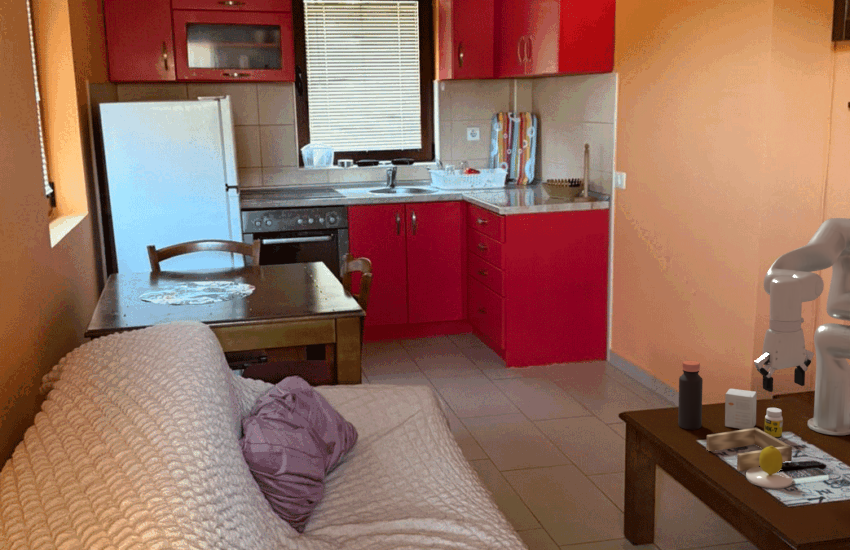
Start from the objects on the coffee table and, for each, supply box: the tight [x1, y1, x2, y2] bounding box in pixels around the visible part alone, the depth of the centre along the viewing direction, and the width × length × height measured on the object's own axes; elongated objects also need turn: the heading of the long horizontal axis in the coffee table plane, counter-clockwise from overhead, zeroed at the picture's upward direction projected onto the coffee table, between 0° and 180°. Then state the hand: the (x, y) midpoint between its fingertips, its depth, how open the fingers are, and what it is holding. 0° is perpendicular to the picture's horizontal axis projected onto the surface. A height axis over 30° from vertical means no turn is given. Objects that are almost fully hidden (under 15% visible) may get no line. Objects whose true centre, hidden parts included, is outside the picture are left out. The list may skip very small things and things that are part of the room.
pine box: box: [705, 427, 793, 472], centre depth 224 cm, size 16×15×4 cm
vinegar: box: [677, 360, 704, 430], centre depth 245 cm, size 7×7×20 cm
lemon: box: [759, 446, 783, 475], centre depth 209 cm, size 6×6×8 cm
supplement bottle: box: [763, 407, 784, 440], centre depth 236 cm, size 5×5×8 cm
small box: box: [724, 388, 757, 430], centre depth 245 cm, size 8×6×10 cm
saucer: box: [745, 467, 794, 490], centre depth 210 cm, size 11×11×1 cm
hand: (783, 387), depth 214 cm, fingers open, 9 cm apart
